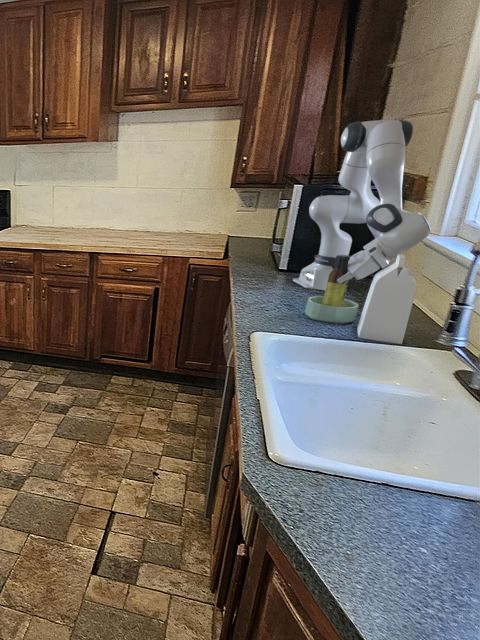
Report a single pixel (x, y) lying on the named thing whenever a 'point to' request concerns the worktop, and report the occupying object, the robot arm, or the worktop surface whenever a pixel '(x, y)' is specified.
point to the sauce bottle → (336, 283)
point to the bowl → (331, 311)
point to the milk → (388, 304)
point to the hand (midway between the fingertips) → (336, 279)
